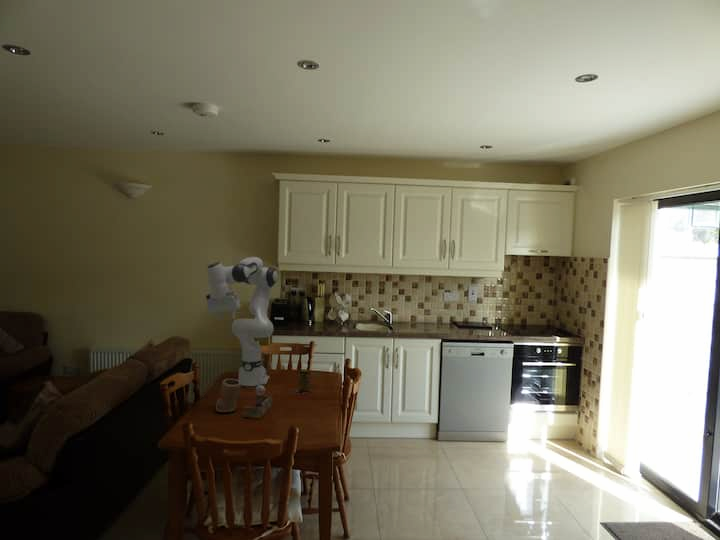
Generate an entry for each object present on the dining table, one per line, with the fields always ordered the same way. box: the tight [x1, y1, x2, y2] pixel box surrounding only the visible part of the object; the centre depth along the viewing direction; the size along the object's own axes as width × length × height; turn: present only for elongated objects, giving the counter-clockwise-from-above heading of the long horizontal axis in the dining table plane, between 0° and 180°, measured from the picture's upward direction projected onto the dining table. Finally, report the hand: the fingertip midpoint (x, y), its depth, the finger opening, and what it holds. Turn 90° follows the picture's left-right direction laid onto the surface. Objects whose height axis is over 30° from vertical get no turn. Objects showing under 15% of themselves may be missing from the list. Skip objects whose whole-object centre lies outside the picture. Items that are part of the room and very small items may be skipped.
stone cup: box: [215, 378, 242, 413], centre depth 226 cm, size 15×12×15 cm
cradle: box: [242, 384, 274, 419], centre depth 224 cm, size 19×10×15 cm, turn 172°
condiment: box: [294, 369, 310, 395], centre depth 258 cm, size 7×8×12 cm
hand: (226, 319), depth 234 cm, fingers open, 8 cm apart
